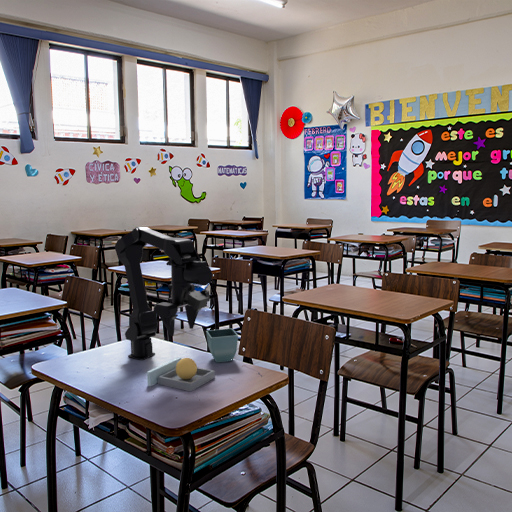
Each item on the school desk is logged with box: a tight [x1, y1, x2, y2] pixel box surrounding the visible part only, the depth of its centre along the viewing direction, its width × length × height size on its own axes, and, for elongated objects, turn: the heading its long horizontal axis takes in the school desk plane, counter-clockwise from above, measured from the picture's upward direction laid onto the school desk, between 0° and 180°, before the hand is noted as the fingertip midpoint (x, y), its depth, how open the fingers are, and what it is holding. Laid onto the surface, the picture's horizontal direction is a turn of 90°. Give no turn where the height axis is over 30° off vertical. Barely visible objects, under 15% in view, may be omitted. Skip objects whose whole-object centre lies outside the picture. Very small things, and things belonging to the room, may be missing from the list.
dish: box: [157, 366, 216, 392], centre depth 140 cm, size 11×11×2 cm
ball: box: [176, 357, 198, 380], centre depth 140 cm, size 6×6×6 cm
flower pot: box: [205, 328, 239, 364], centre depth 158 cm, size 9×9×9 cm
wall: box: [146, 357, 182, 387], centre depth 143 cm, size 1×14×4 cm, turn 150°
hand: (181, 332), depth 149 cm, fingers open, 9 cm apart
